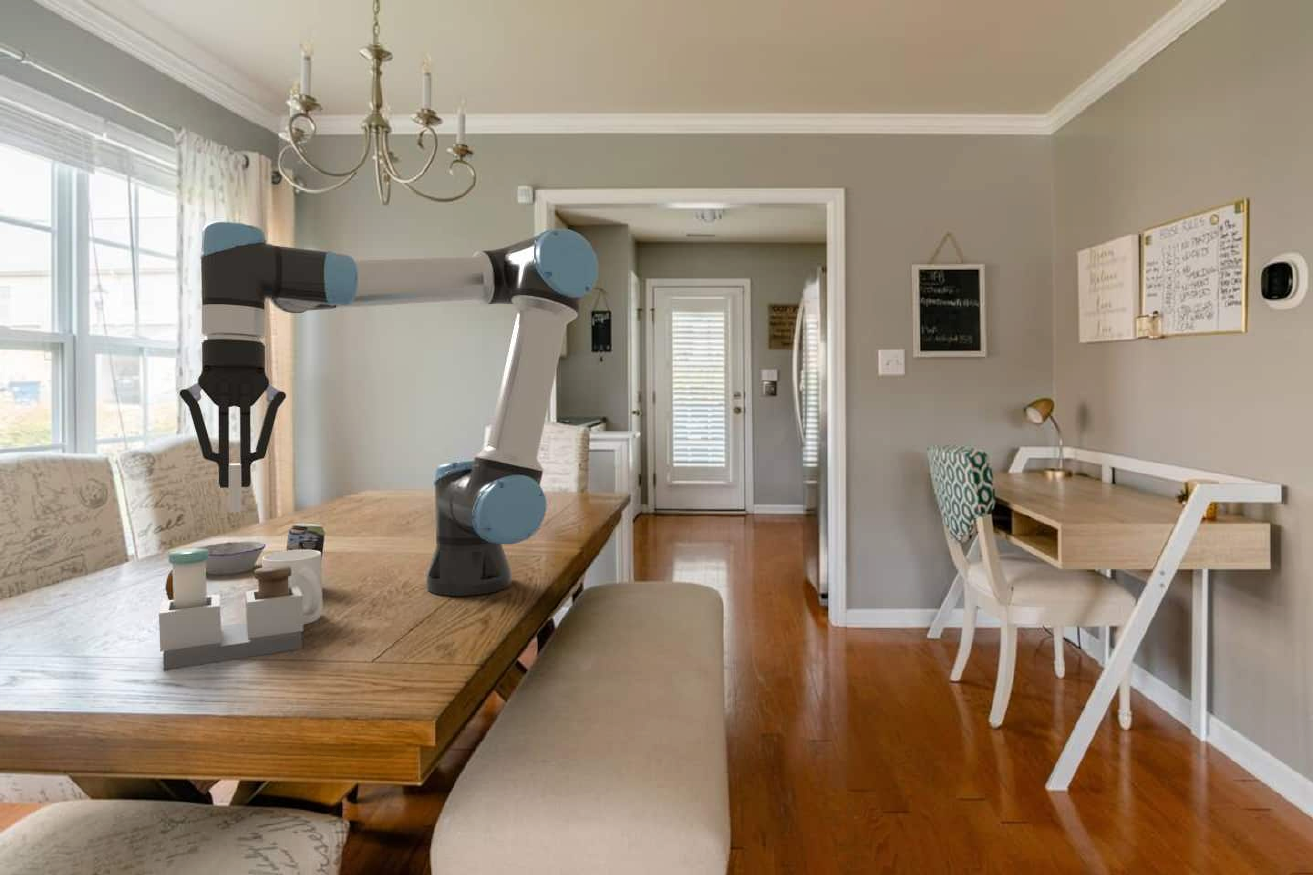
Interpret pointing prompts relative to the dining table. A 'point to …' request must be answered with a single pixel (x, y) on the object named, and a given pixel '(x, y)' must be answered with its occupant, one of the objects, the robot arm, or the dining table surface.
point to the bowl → (232, 557)
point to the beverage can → (306, 537)
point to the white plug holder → (230, 630)
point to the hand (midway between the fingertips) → (234, 510)
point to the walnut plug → (273, 581)
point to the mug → (302, 578)
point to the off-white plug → (189, 577)
